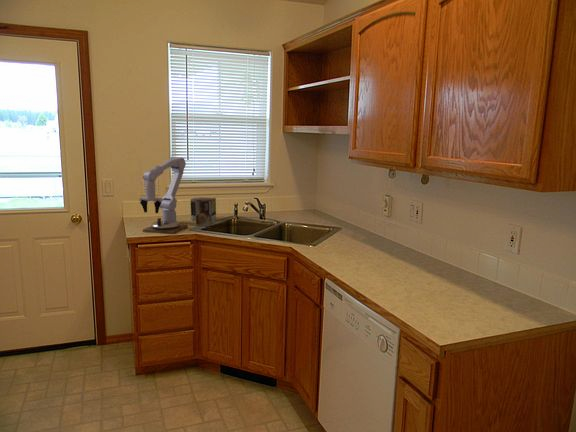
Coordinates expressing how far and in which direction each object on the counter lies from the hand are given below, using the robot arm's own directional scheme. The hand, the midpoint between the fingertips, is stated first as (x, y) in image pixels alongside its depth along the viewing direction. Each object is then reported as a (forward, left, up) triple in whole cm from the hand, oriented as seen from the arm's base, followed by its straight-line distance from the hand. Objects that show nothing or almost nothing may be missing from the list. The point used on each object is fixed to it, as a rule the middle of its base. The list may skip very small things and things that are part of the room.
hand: (151, 212), depth 280 cm
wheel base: (+3, +11, -9) cm, 15 cm away
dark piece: (-34, +20, -10) cm, 41 cm away
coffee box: (-16, +28, -10) cm, 34 cm away
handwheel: (+3, +11, -7) cm, 13 cm away
